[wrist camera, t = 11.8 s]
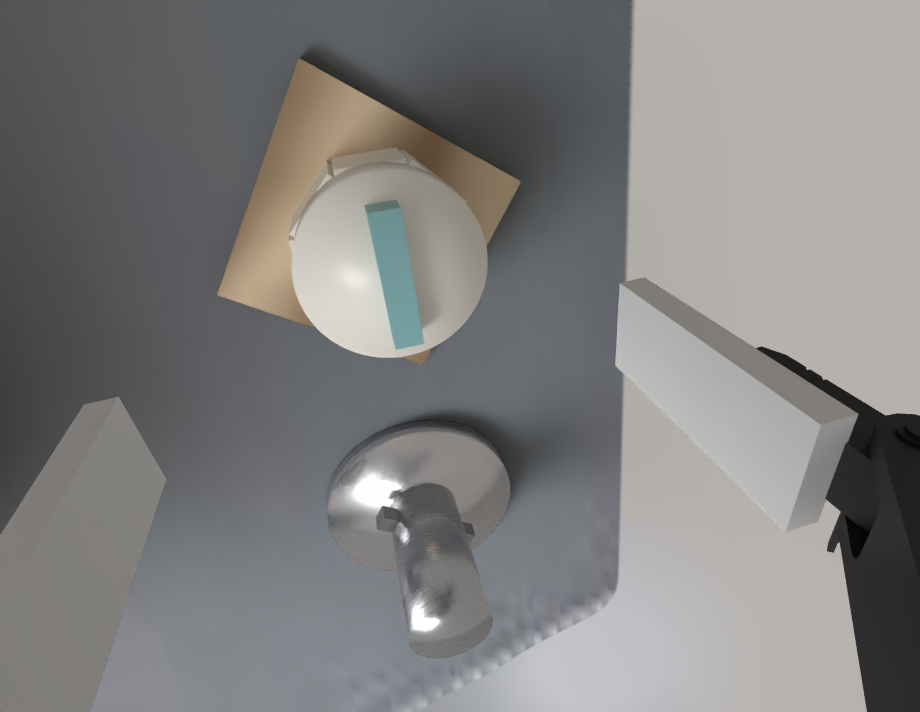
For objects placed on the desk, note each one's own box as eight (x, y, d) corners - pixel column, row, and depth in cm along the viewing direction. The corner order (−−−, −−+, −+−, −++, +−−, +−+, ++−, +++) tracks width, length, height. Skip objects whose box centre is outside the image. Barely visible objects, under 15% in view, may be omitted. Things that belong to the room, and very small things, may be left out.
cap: (274, 165, 22) (260, 198, 17) (449, 137, 23) (487, 159, 18) (320, 324, 26) (321, 390, 21) (467, 293, 27) (502, 349, 22)
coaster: (219, 288, 25) (216, 295, 24) (299, 57, 21) (298, 57, 20) (420, 357, 29) (423, 364, 29) (515, 178, 26) (521, 181, 25)
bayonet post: (300, 540, 34) (294, 697, 26) (372, 398, 30) (393, 530, 22) (454, 564, 39) (492, 702, 31) (534, 446, 35) (603, 568, 27)
